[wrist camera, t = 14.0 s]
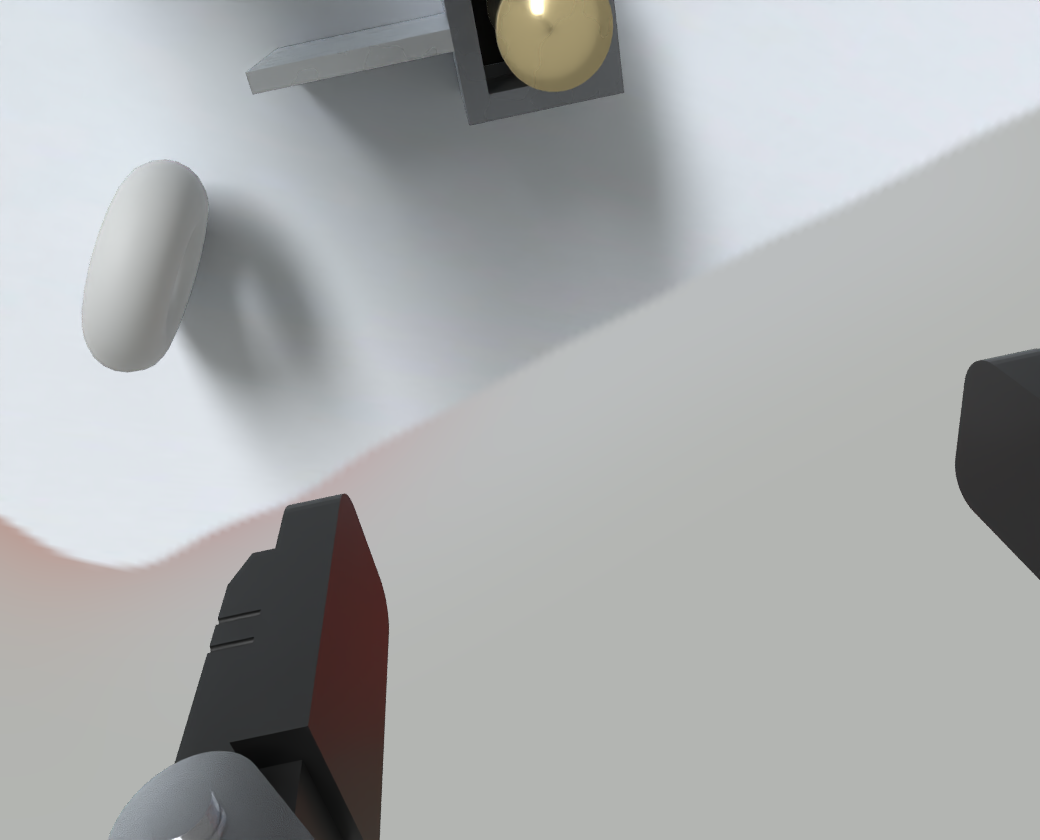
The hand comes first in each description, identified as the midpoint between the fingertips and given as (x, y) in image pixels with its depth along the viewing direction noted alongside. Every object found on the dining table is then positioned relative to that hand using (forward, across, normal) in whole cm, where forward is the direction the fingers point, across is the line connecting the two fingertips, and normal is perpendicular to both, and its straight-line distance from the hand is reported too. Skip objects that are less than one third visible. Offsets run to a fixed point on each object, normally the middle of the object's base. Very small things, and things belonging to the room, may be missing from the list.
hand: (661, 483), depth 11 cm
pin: (+34, -2, -3) cm, 34 cm away
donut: (+34, +17, +4) cm, 38 cm away
